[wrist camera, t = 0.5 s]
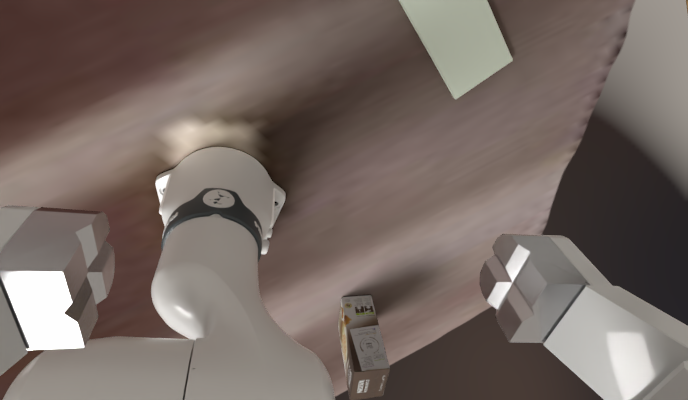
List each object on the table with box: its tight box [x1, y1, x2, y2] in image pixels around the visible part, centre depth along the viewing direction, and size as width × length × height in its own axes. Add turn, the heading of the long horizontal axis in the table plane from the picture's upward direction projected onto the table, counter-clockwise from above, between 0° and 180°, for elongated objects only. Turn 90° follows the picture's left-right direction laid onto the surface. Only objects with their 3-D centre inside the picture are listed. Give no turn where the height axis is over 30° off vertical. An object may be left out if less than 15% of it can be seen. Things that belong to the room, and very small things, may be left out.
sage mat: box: [398, 0, 513, 100], centre depth 50 cm, size 22×9×1 cm, turn 35°
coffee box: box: [338, 295, 390, 400], centre depth 76 cm, size 9×6×16 cm
